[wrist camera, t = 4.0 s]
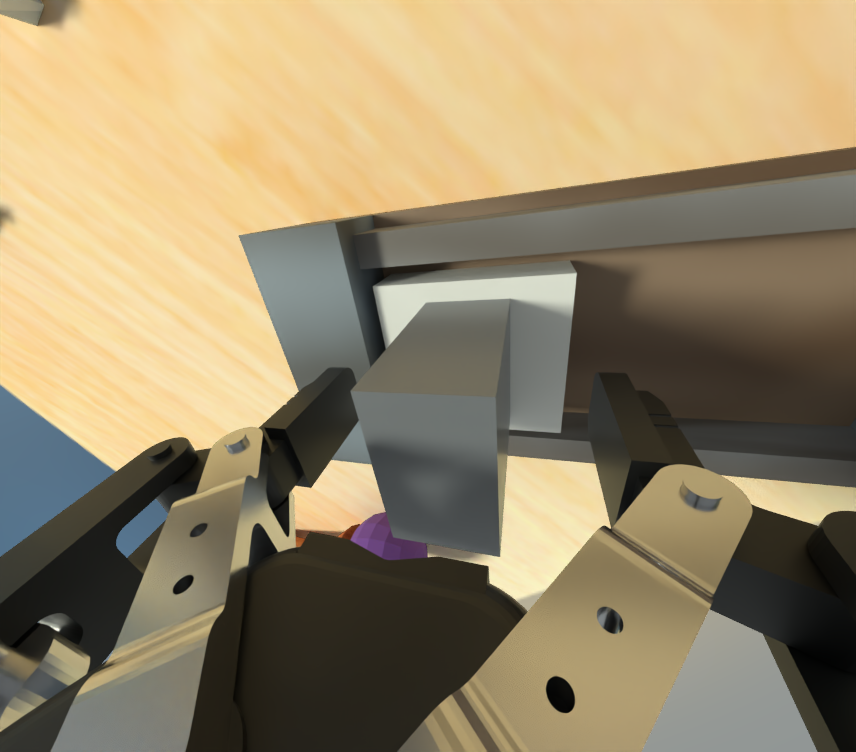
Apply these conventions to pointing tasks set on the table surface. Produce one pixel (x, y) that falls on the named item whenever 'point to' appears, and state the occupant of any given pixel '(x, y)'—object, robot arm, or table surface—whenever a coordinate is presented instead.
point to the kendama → (381, 540)
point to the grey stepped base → (629, 302)
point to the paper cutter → (22, 10)
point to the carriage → (462, 392)
